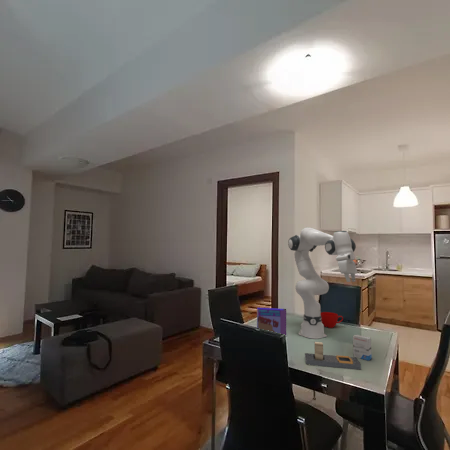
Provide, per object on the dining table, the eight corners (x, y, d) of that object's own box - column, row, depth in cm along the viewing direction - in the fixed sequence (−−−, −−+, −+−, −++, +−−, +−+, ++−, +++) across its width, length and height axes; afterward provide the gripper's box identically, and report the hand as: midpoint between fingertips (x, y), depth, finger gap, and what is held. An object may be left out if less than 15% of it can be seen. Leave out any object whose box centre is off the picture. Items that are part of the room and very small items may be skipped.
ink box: (372, 358, 165) (371, 337, 166) (368, 361, 162) (368, 339, 163) (356, 354, 171) (356, 333, 172) (352, 356, 168) (352, 335, 169)
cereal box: (256, 349, 177) (257, 308, 179) (257, 346, 182) (257, 307, 184) (286, 351, 175) (286, 310, 177) (285, 348, 180) (285, 308, 182)
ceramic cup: (345, 329, 223) (344, 316, 223) (321, 328, 225) (321, 315, 226) (341, 325, 235) (341, 312, 236) (319, 324, 238) (319, 311, 239)
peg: (314, 360, 161) (314, 341, 162) (322, 361, 160) (322, 342, 161) (315, 363, 157) (315, 344, 158) (323, 364, 156) (323, 344, 157)
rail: (304, 357, 165) (304, 352, 165) (356, 362, 160) (356, 356, 160) (306, 364, 155) (306, 359, 155) (360, 369, 150) (360, 364, 150)
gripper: (346, 259, 180) (351, 282, 176) (334, 257, 164) (339, 282, 161) (357, 257, 176) (362, 281, 172) (346, 255, 160) (351, 281, 157)
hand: (351, 281), depth 166 cm, fingers open, 8 cm apart
